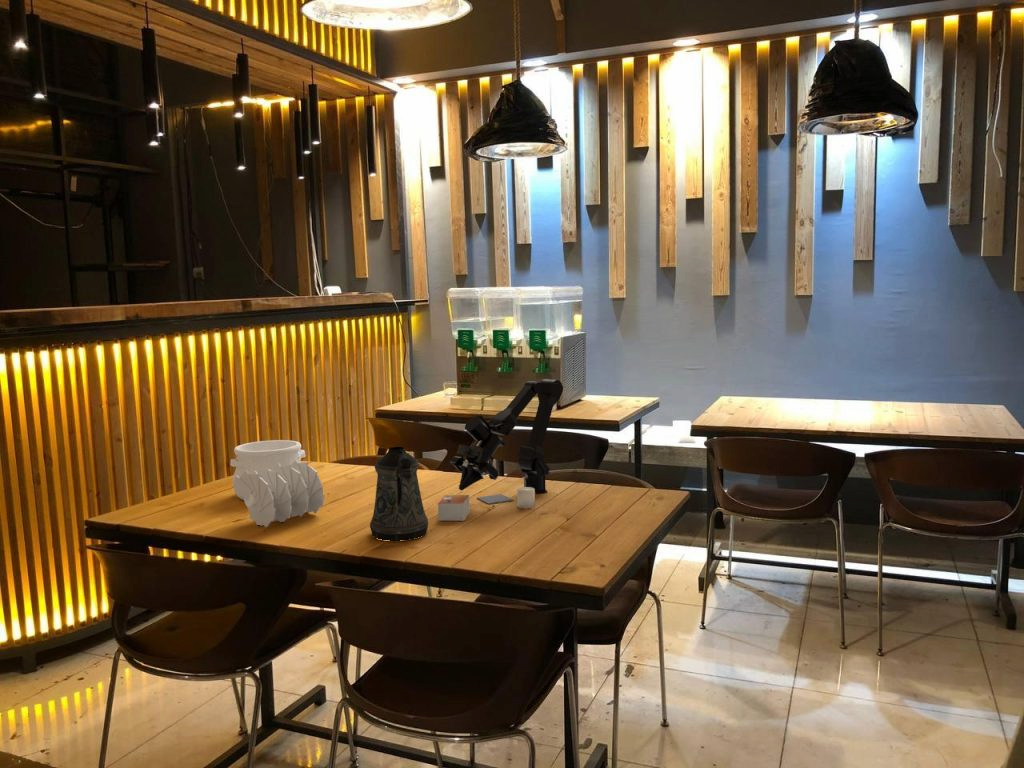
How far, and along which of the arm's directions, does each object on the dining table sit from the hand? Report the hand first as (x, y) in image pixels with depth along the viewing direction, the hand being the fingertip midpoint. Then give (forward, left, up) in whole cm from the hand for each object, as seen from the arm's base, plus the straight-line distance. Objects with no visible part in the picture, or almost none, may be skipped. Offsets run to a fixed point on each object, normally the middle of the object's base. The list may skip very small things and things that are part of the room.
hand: (460, 489), depth 261 cm
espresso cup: (-20, +4, -6) cm, 22 cm away
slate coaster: (-13, -8, -6) cm, 17 cm away
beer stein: (+22, +21, -7) cm, 31 cm away
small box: (+2, +3, -4) cm, 5 cm away
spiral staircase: (+54, -8, -7) cm, 55 cm away
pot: (+58, -44, -7) cm, 73 cm away
